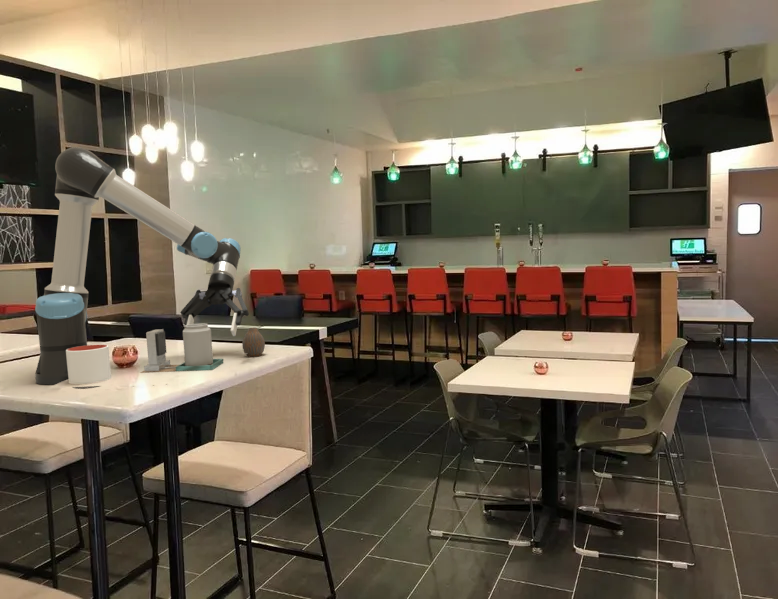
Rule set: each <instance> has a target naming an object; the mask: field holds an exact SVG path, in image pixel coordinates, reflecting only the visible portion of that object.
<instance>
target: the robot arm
mask: <svg viewBox="0 0 778 599" xmlns="http://www.w3.org/2000/svg"><path fill="white" fill-rule="evenodd" d="M54 166H55V168H54V169H55V173H56V179H55V190H54V196H55V197H56V198H57V200H59V210H58V216H57V226H56V235H55V236H56V237H55V244H54V253H53V255H54V256H53V264H52V265H53V266H52V273H51V282H50V284H48V285H47V286H45V287H44V293H43V295H42V296H41V295H40V296H39V297H38V298H37V299H36V301H35V308H34V309H35V313H36V322H37V330H38V332H37V333H38V342H39V358H38V362H37V367H36V370H35V374H34V378H35V379H34V380H35V383H36V384H40V385H56V384H60V383H62V382H65V381H67V380H68V381H69V379H68V368H67V358H66V350H67V349H69V348H73V347H79V346H86V345H88V340H87V327H86V322H87V318H88V303H89V301H88V300H89V294H90V293H89V291H88V289H86V287H85V277H86V267H87V259H88V252H89V251H88V249H89V241H90V230H91V222H92V214H93V206H94V205H96V204H97V203H98V202H99V200H100V198H102V199H104V200H105V201H107V202H109V203H110V204H112V205H113V206H115V207H117V208H118V209H120V210H122V211H124V212H125V213H126V214H128V215H130V216H131V217H133V218H135V219H136V220H138V221H139V222H141V223H143V224H145V225H146V226H148V227H149V228H150V229H152V230H154V231H155V232H158V233H160V235H162V236H163V237H165V238H166V239H169V240H171V241H172V242H174V243H175V244H177V245H176V250H177V251H178V252H180V253H182V254H184V255H185V256H190V257H192V258H195V259H198V260H201V261H203V262H206V263H209V264H212V269H211V272H210V275H209V276H210V277H209V280H208V285H207V290H206V291H201V290H200V289H197V290H196V292H195V293H194V295H193V297H192V298H191V299H190V300H189V301H188V303H186V305H185V306H184V307H183V308H182V309H181V310H180V314H181V316H182V318H183V319H184V323H183V325H184V326H185V325H189V324H195V319H194V318H195V317H196V316H198V315H199V314H200V313H202V312H203V311H204V310H205V309H206V308H209V307H210V306H214V305H215V306H216V305H224V304H225V305H227V306H228V307H229V308H230V309H231V310H232V311H233V312H234V313H233V317H232V321H231V327H230V333H231V335H232V337H236V335H237V329H238V326H240V325H241V324H242V319H243V317H248V316H249V315H250V312H249V310H248V307H247V306H246V304H245V301H244V299H243V293H242V290H241V288H239V287H238V288H236V290H234V285H235V281H236V274H237V270H238V264H239V261H240V258H241V248H242V247H241V245H240V243H239V242H238V241H237V240H235V239H234V238H227V237H224V238H222V239H220V240H217V238H216V236H215V235H214V234H212V233H211V232H208V231H205V230H203V229H202V228H200V227H199V226H197V225H196V224H194V223H193V222H191V221H189V220H188V219H186V218H184V217H183V216H182V215H180V214H179V213H177V212H175V211H173V209H171V208H169V207H168V206H166V205H164V204H163V203H161V202H159V201H158V200H156V199H155V198H153V197H152V196H150V195H149V194H147V193H146V192H144V191H143V190H141V189H139V188H138V187H136V186H135V185H133V184H132V183H130V182H128V181H127V180H125V179H124V178H122V177H121V176H119V175H117V172H116V169H115V168H113V167H111V166H110V165H109V164H108V163H106V162H105V161H103V160H102V159H100V158H99V157H98V156H97V155H96V154H94V153H93V152H92V151H90V150H88V149H86V148H83V147H70V148H67V149H65V150H63V151H61V153H60V154H59V155H58V156H57V158H56V160H55V165H54ZM233 296H234V298H237V301H238V303H239V304H240V307H241V309H240V307H238V305H237V304H236V303H234V301H233V300H232V299H231V298H232V297H233Z"/></svg>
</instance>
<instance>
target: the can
mask: <svg viewBox="0 0 778 599" xmlns="http://www.w3.org/2000/svg"><path fill="white" fill-rule="evenodd" d="M208 325H209V323H207V322H206V323H205V322H204V323H202V322H201V323H194V324H189V325H184V327H185V328H183V330H182V340H183V341H182V342H183V343H182V344H183V355H184V362H185V366H205V365H211V364H212V363H213V359H214V357H213V356H214V354H213V353H214V352H213V345H212V344H213V342H212V341H213V340H212V330H211V328H210V327H209V326H208Z"/></svg>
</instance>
